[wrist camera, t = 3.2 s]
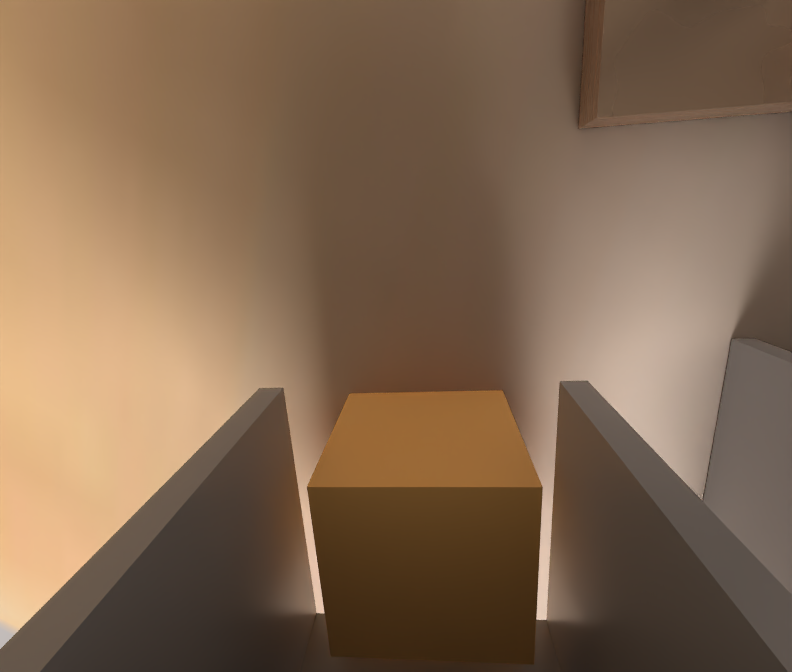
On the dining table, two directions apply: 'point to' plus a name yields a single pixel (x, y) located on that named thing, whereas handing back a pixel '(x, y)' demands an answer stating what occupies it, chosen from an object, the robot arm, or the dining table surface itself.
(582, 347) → the dining table surface
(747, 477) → the grey cube box
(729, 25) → the balance scale
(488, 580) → the orange block
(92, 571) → the hiding cup
